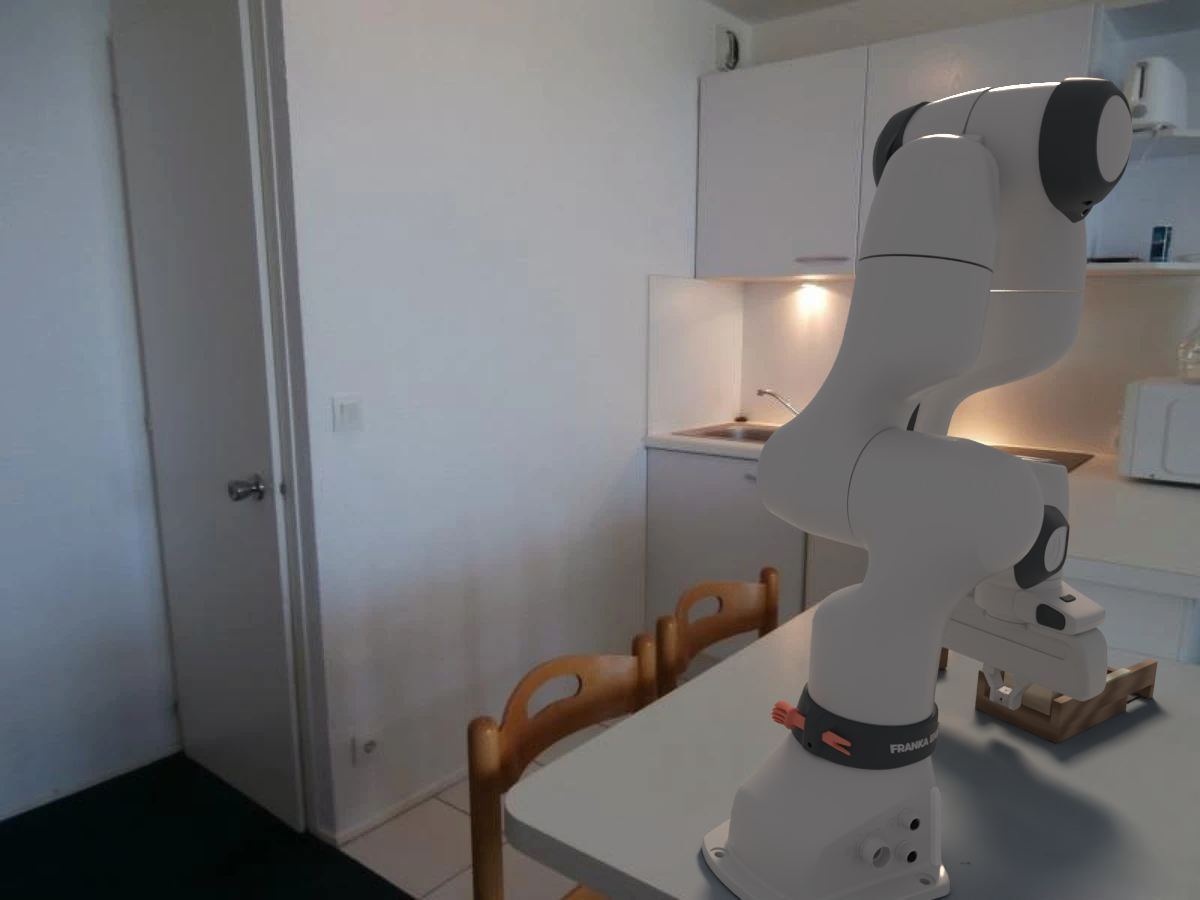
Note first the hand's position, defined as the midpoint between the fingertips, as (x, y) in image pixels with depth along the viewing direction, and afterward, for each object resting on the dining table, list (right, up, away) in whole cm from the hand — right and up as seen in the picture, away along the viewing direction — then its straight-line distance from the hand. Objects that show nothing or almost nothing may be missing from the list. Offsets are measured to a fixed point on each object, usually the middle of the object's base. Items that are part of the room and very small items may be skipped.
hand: (1004, 704), depth 100 cm
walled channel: (+12, -2, +8) cm, 15 cm away
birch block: (+6, -1, +5) cm, 8 cm away
